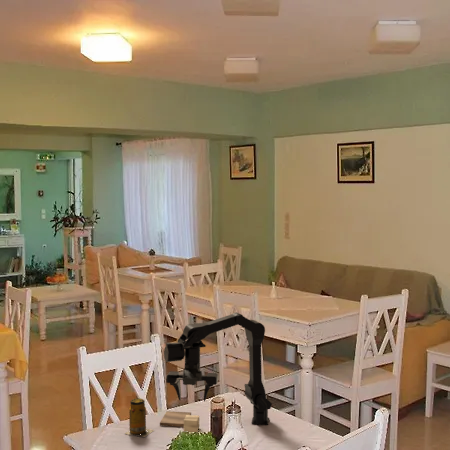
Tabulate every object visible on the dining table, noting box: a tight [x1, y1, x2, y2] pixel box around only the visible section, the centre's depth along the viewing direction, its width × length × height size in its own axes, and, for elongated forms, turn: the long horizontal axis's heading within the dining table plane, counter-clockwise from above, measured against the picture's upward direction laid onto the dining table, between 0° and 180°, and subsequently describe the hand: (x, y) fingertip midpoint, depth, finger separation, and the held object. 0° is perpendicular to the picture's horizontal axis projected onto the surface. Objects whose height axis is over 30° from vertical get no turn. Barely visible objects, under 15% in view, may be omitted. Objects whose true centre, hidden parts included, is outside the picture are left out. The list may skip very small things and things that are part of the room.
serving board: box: [159, 410, 192, 428], centre depth 238 cm, size 12×10×1 cm
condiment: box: [124, 398, 155, 438], centre depth 226 cm, size 7×8×12 cm
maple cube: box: [183, 414, 200, 432], centre depth 228 cm, size 5×5×5 cm
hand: (192, 400), depth 225 cm, fingers open, 9 cm apart
